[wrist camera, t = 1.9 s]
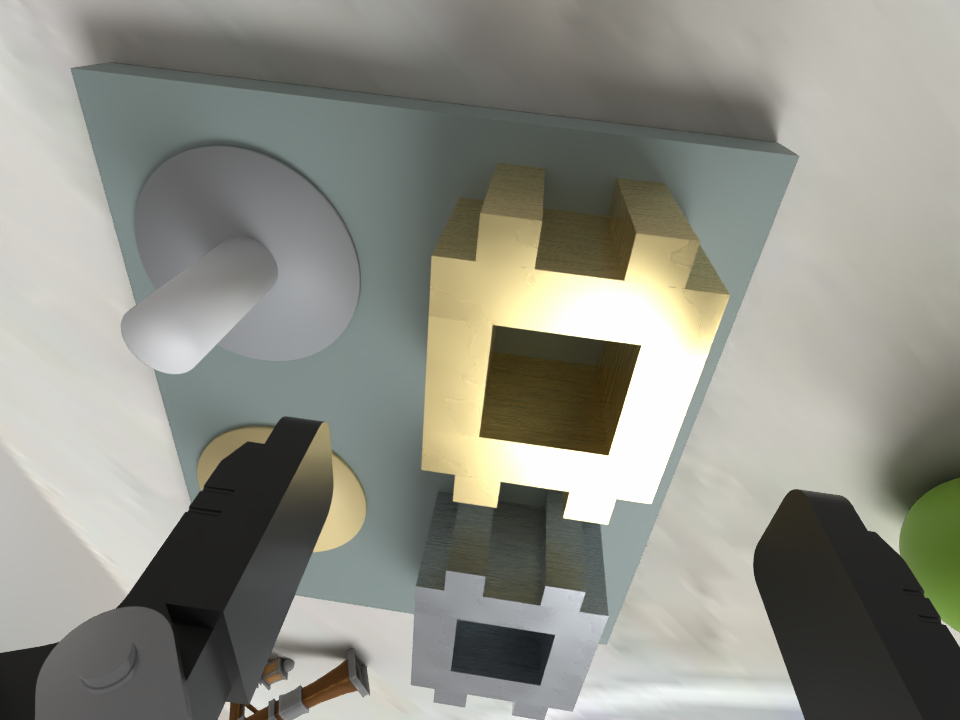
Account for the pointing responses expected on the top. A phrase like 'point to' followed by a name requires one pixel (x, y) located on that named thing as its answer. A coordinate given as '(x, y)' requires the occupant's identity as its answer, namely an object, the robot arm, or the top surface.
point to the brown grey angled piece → (305, 690)
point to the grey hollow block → (508, 604)
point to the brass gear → (569, 311)
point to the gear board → (365, 278)
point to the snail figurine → (936, 548)
